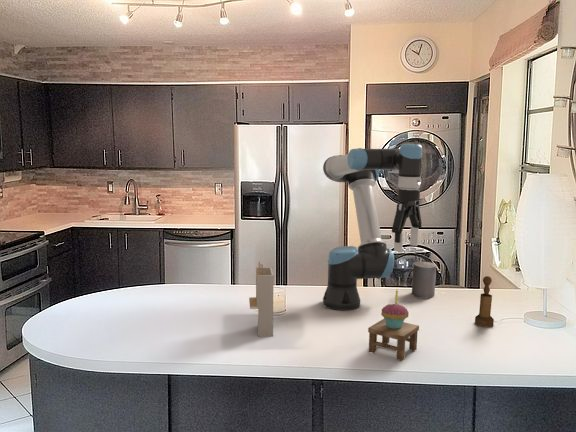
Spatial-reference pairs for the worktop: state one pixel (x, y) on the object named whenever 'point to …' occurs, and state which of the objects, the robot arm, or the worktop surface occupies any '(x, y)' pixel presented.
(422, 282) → the pillar candle
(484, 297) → the brown chess pawn
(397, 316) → the cupcake
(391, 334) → the walnut stool
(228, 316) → the worktop surface
